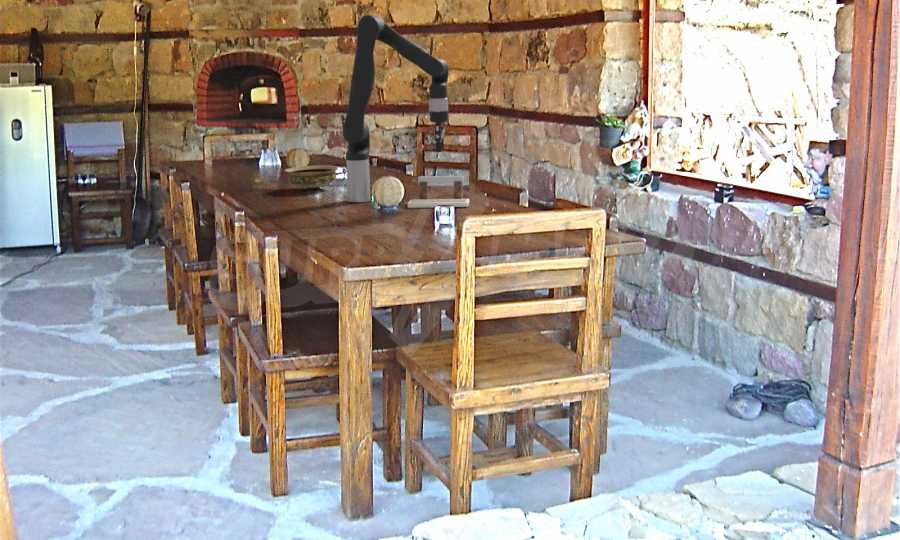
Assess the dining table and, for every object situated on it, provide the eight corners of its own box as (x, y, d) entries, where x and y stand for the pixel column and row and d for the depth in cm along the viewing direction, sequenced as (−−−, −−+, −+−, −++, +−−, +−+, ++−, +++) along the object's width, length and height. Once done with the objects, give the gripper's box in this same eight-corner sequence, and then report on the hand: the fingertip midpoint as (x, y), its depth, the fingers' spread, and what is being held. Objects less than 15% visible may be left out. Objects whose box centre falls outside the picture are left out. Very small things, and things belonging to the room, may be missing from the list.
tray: (407, 208, 382) (407, 203, 381) (411, 204, 391) (410, 199, 391) (467, 207, 379) (467, 202, 379) (469, 203, 389) (469, 198, 388)
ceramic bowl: (275, 189, 446) (274, 167, 444) (323, 184, 458) (322, 163, 456) (301, 196, 421) (300, 173, 419) (351, 191, 433) (350, 169, 431)
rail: (418, 186, 392) (418, 177, 391) (419, 184, 396) (419, 176, 395) (462, 185, 390) (462, 176, 390) (463, 184, 394) (463, 175, 393)
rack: (416, 203, 393) (415, 182, 391) (418, 201, 398) (417, 180, 397) (465, 203, 391) (464, 181, 389) (466, 200, 396) (466, 179, 395)
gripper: (431, 109, 394) (432, 149, 397) (427, 111, 380) (428, 152, 383) (449, 108, 393) (451, 148, 397) (446, 110, 379) (447, 152, 383)
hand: (440, 150), depth 390 cm, fingers open, 8 cm apart
